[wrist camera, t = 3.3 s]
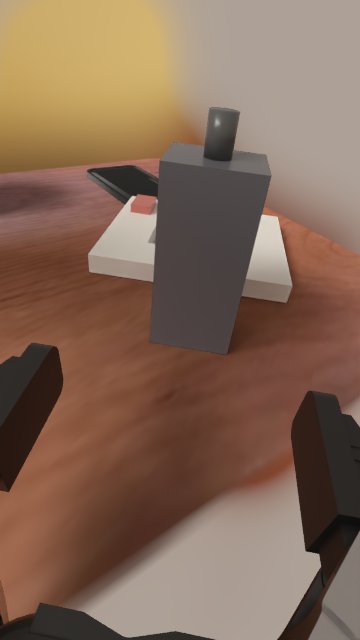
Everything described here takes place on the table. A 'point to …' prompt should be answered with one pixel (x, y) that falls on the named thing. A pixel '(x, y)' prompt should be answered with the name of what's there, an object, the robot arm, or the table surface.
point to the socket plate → (139, 251)
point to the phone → (125, 181)
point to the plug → (205, 236)
